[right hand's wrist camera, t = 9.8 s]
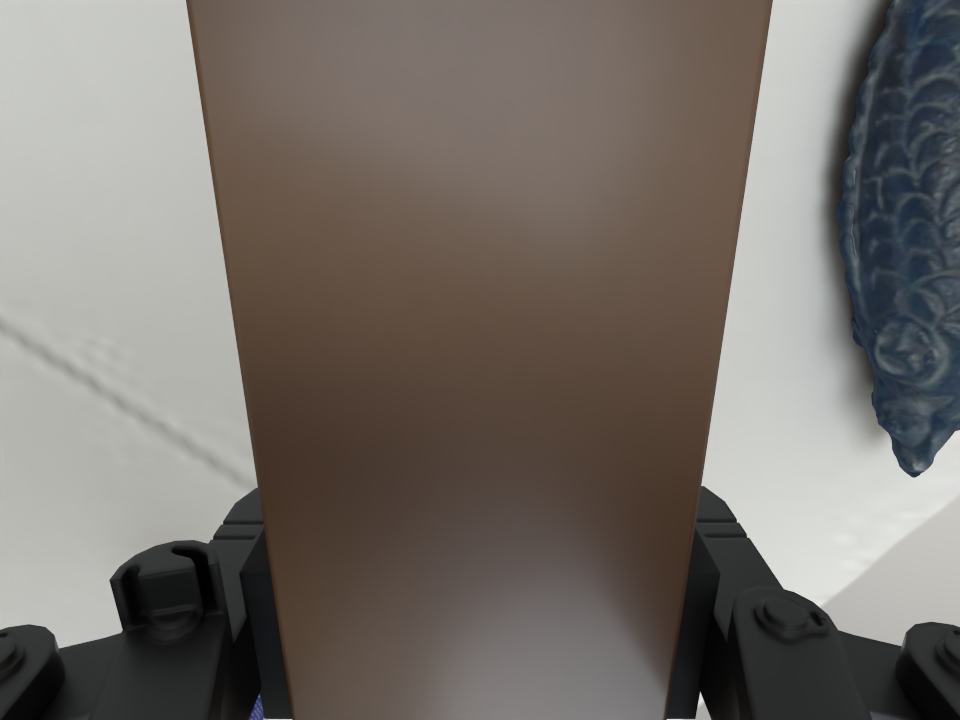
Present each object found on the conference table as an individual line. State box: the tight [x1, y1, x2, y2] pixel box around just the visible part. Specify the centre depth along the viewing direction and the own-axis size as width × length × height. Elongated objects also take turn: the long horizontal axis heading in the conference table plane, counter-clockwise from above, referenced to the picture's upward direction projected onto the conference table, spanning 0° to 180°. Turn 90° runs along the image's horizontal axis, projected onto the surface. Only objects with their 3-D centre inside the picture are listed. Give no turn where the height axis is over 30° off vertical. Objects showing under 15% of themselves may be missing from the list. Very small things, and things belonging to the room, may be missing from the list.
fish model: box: [836, 0, 960, 477], centre depth 23 cm, size 7×21×5 cm, turn 8°
